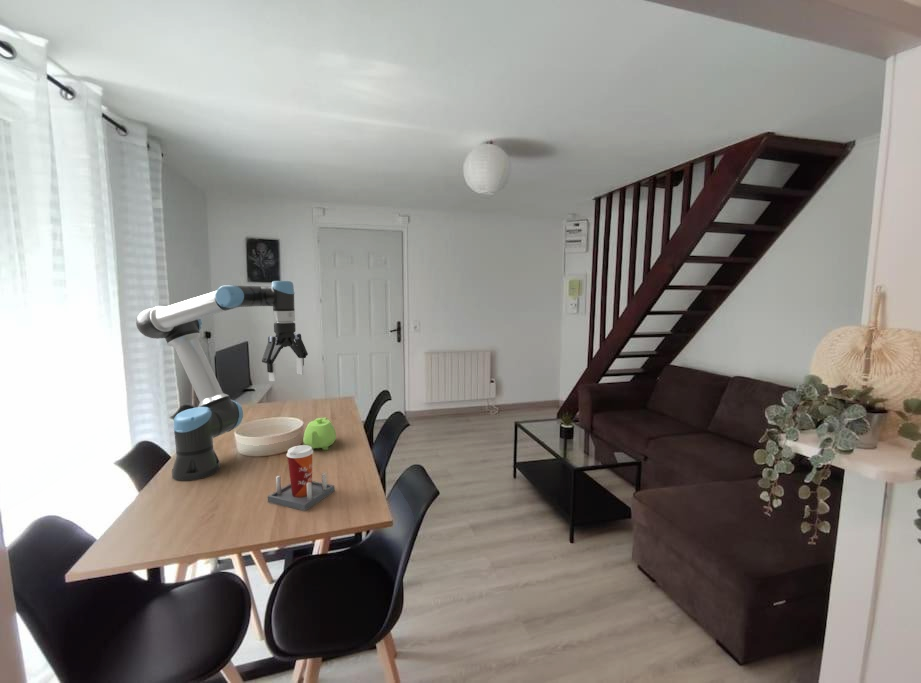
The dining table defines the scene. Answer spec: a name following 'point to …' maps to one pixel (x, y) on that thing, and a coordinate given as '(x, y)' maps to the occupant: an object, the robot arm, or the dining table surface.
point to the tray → (301, 503)
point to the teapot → (319, 434)
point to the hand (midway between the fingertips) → (286, 377)
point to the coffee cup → (300, 469)
